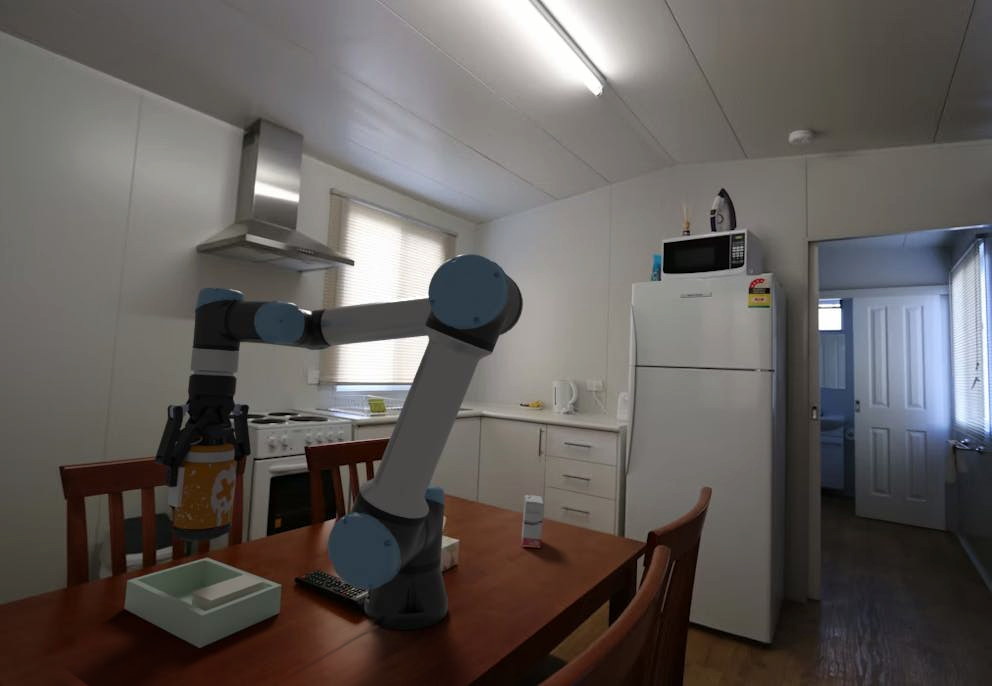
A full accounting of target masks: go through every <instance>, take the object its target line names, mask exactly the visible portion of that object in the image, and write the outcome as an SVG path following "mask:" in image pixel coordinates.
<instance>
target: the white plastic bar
mask: <svg viewBox="0 0 992 686" xmlns="http://www.w3.org/2000/svg"><path fill="white" fill-rule="evenodd" d="M262 585H263V581H260V580H257V579H255V578H252V577H249V576H247V575H241V576H238V577H235V578H232V579H229V580H226V581H223V582H220V583H217V584H215V585H212V586H209V587H206V588H203V589H200V590H197V591H194V592H192V596H193V597H192V605H193V606H195V607H197V608H199V609H201V610H203V611H207V610H210V609H213V608H215V607H218V606H220V605H223V604H226V603H228V602H231V601H234V600H236V599H239V598H242V597H244V596H247V595H249V594H252V593H255V592H257V591H260V590H261V589H262Z"/></svg>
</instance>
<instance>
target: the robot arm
mask: <svg viewBox="0 0 992 686" xmlns="http://www.w3.org/2000/svg"><path fill="white" fill-rule="evenodd" d="M427 292H428V295H425V296H424V295H422V296H415V297H409V298H399V299H393V300H385V301H377V302H369V303H361V304H360V303H359V304H354V305H347V306H346V305H345V306H337V307H329V308H322V309H316V310H306V309H302V308H299V307H298V306H297V305H296V304H295V303H293V302H286V301H280V300H272V301H266V300H265V301H263V300H262V301H261V300H260V301H259V300H257V301H256V300H253V301H252V300H251V301H247V300H245V295H244V294H243V292H241V291H239V290H235V289H230V288H223V287H221V288H220V287H204V288H202V289H200V290H199V292H198V296H197V301H196V306H195V309H194V313H195V317H194V328H193V329H194V330H193V340H192V341H193V343H192V350H191V358H190V359H191V361H190V371H191V372H193V373H192V374H190V375H189V381H188V387H187V389H188V390H187V393H188V399H187V401H186V403H185V404H180V405H176V404H175V405H174V404H170V405H168V407H167V420H166V424H165V427H164V429H163V433H162V437H161V439H160V442H159V445H158V449H157V451H156V455H155V457H154V463H155V464H158V465H161V466H165V467H166V470H165V471H166V473H165V481H164V483H165V486H166V487H169V488H168V489H169V490H168V500H167V501H168V502H167V505H168V506H169V505H171V506H174V507H181V501H182V491H183V481H184V471H185V468H184V467H180V465H181V463H182V462H183V460H184V458H185V456H186V454H187V453H188V451H189V449H190V447H191V446H192V445H190V444H191V443H193V442H194V440H195V438H196V437H197V435H198V433H199V432H200V431H201V430H202V429H203V427H204V426H206V425H215V424H229V425H230V428H232V427H233V428H234V429H235V432H234V433H232V434H228V437H226V438H223V442H226V443H230V444H232V445H233V447H234V449H235V452H234V460H235V461H236V462H237V468H236V478H238V476H239V473H240V472H239V471H240V462H242V461H244V460H245V457H248V456H250V455H251V454H252V453H251V441H250V431H249V423H248V421H249V420H248V414H249V409H250V406H249V405H248V404H243V403H235V401H234V396H235V395H236V389H237V380H238V379H237V377H236V376H235V375H234V374H236V373H238V371H239V358H240V357H239V356H240V346H241V343H249V344H250V343H251V344H265V345H273V346H284V347H292V348H293V347H294V348H302V349H307V350H310V351H316V350H317V351H320V350H326V349H329V348H330V347H334V346H342V345H350V344H352V345H353V344H360V343H362V344H363V343H370V342H371V343H372V342H378V341H379V342H380V341H381V342H382V341H389V340H391V341H392V340H399V339H407V338H408V339H409V338H417V337H428V342H427V345H426V348H425V350H424V353H423V355H422V358H421V360H420V363H419V365H418V368H417V371H416V373H415V375H414V378H413V380H412V383H411V385H410V387H409V390H408V393H407V396H406V397H405V400H404V403H403V405H402V408H401V410H400V414H399V416H398V417H397V420H396V422H395V426H394V427H393V430H392V433H391V435H390V437H389V440H388V443H387V445H386V448H385V450H384V452H383V455H382V457H381V461H380V462H379V465H378V468H377V471H376V473H375V475H374V477H373V478H371V479H370V480H367V481H365V482H363V483H362V484H361V485H360V487H359V490H358V493H357V495H356V497H355V499H354V501H353V504H352V506H351V509H350V511H349V513H347V514H345V515H343V516H341V517H340V519H339V520H338V521H336V523H335V524H334V525H333V526H332V528H331V530H330V533H329V536H328V538H327V539H328V540H327V554H328V559H329V561H330V562H331V564H332V568H333V570H334V572H335V574H336V575H337V576H338V577H339V578H340V580H342V581H343V582H344V583H345V584H347V585H349V586H351V587H354V588H355V589H359V590H368V591H367V593H366V596H365V597H364V598H365V599H364V607H363V608H364V609H363V610H364V613H365V615H366V617H368V618H369V619H371V620H372V621H375V622H372V624H374V625H376V626H378V627H381V628H385V629H391V630H399V631H400V630H401V631H403V630H404V631H405V630H406V631H407V630H415V629H416V630H417V629H421V628H426V627H430V626H433V625H435V624H437V623H439V622H441V621H442V620H443V619H444V618H445V617H446V616H447V613H448V603H449V599H448V598H449V597H448V593H447V591H446V586H445V581H444V576H443V573H442V570H441V569H442V568H441V563H442V561H441V560H442V549H443V547H442V546H443V530H444V514H445V508H446V503H445V491H444V489H443V488H442V487H440V486H439V485H436V484H431V481H432V479H433V476H434V474H435V472H436V469H437V466H438V464H439V462H440V459H441V456H442V453H443V451H444V449H445V446H446V444H447V442H448V439H449V437H450V434H451V433H452V432H451V431H452V429H453V427H454V425H455V422H456V419H457V417H458V413H459V411H460V409H461V407H462V404H463V402H464V399H465V397H466V394H467V392H468V389H469V386H470V384H471V383H472V379H473V376H474V374H475V371H476V369H477V366H478V364H479V362H480V361H481V360H482V359H484V358H485V357H488V356H491V355H493V352H494V350H495V346H496V344H497V342H498V340H499V338H500V336H502V335H504V334H507V333H508V332H509V331H511V330H512V329H513V328H514V327H515V326H516V325H517V323H518V322H519V320H520V318H521V316H522V312H523V306H524V302H523V301H524V299H523V294H522V292H521V290H520V287H519V285H518V284H517V282H515V280H514V279H512V277H510V276H509V275H508V274H507V273H506V272H505V271H504V269H503V268H502V266H500V265H499V264H498V263H496V262H495V261H492V260H490V259H489V258H488V257H487V258H486V257H485V256H483V255H480V254H476V253H475V254H474V253H466V254H465V253H464V254H459V255H457V256H454V257H452V258H450V259H448V260H446V261H445V262H443V263H442V264H441V265H440V266H439V267H437V269H436V270H435V272H434V273H433V275H432V277H431V279H430V282H429V286H428V291H427ZM186 413H188V415H189V417H188V419H187V421H186V422H185V425H184V428H185V429H184V431H183V433H182V434H181V436H180V438H179V440H178V441H177V438H178V435H179V432H180V430H182V429H181V428H182V425H183V423H184V422H183V421H184V418H185V417H186V416H187V415H186ZM231 413H232V414H233V424H232V421H231V419H230V415H231Z"/></svg>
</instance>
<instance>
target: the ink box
mask: <svg viewBox="0 0 992 686" xmlns="http://www.w3.org/2000/svg"><path fill="white" fill-rule="evenodd" d="M544 506H545V504H544V501H543V498H542V496H540V495H533V494H525V495H524V502H523V512H522V513H523V514H522V525H521V526H522V527H521V544H522V543H523V545H533V546H541V547H542V545H541V544H542V535H543V534H542V532H543V530H542V529H543V521H544V520H543V519H544V517H543V516H544Z"/></svg>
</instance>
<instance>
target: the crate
mask: <svg viewBox="0 0 992 686" xmlns="http://www.w3.org/2000/svg"><path fill="white" fill-rule="evenodd" d="M241 575H247V576H249V577H252V578H255V579H257V580H260V581H263V585H262V589H261V590H260V591H257V592H255V593H252V594H249V595H247V596H244V597H242V598H239V599H236V600H234V601H231V602H228V603H226V604H223V605H220V606H218V607H215V608H213V609H210V610H207V611H203V610H201V609H199V608H197V607H195V606H193V605H192V597H193V596H192V592H194V591H197V590H200V589H203V588H206V587H209V586H212V585H215V584H217V583H220V582H223V581H226V580H229V579H232V578H235V577H238V576H241ZM281 597H282V584H280V583H276V582H275V581H271V580H269V579H266V578H263V577H261V576H259V575H255V574H252V573H250V572H248V571H245V570H242V569H239V568H236V567H233V566H231V565H228V564H225V563H223V562H220V561H218V560H215V559H212V558H210V557H204V558H200V559H197V560H194V561H191V562H187V563H184V564H180V565H179V564H178V565H176V566H173V567H169V568H166V569H162V570H159V571H155V572H151V573H149V574H145V575H141V576H138V577H134V578H131V579H128V580H126V589H125V600H124V608H123V609H124V610H125V611H128V612H129V613H132V614H133V615H136V616H137V617H139V618H142V619H143V620H145V621H147V622H149V623H151V624H152V625H154V626H157V627H159V628H160V629H163V630H164V631H166V632H168V633H170V634H171V635H173V636H176V637H178V638H180V639H181V640H183V641H185V642H187V643H189V644H191V645H192V646H195V647H197V648H199V649H201V648H203V647H206V646H207V645H210V644H213V643H215V642H217V641H219V640H222V639H224V638H226V637H228V636H230V635H231V636H232V635H233V634H235V633H238V632H240V631H242V630H244V629H247V628H249V627H251V626H253V625H256V624H258V623H260V622H262V621H265V620H266V619H269V618H272V617H273V616H276V615H279V614H280V612H281V611H280V609H281V600H282V599H281Z"/></svg>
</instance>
